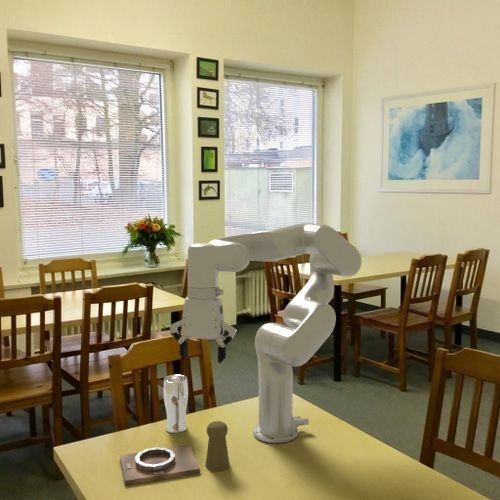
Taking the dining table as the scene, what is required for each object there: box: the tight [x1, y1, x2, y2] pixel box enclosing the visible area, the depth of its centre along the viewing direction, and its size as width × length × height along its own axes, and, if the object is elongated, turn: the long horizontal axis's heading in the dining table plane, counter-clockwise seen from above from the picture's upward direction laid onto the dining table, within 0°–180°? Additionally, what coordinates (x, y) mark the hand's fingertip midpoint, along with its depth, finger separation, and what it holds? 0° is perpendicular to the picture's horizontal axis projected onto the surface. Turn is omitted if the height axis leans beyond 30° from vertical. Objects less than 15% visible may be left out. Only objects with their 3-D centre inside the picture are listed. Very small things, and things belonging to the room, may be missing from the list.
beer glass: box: [163, 374, 189, 434], centre depth 159 cm, size 7×7×15 cm
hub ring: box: [135, 446, 175, 472], centre depth 138 cm, size 10×10×2 cm
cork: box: [205, 420, 231, 472], centre depth 138 cm, size 6×6×11 cm
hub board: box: [119, 444, 201, 486], centre depth 138 cm, size 18×13×1 cm
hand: (202, 359), depth 140 cm, fingers open, 9 cm apart
